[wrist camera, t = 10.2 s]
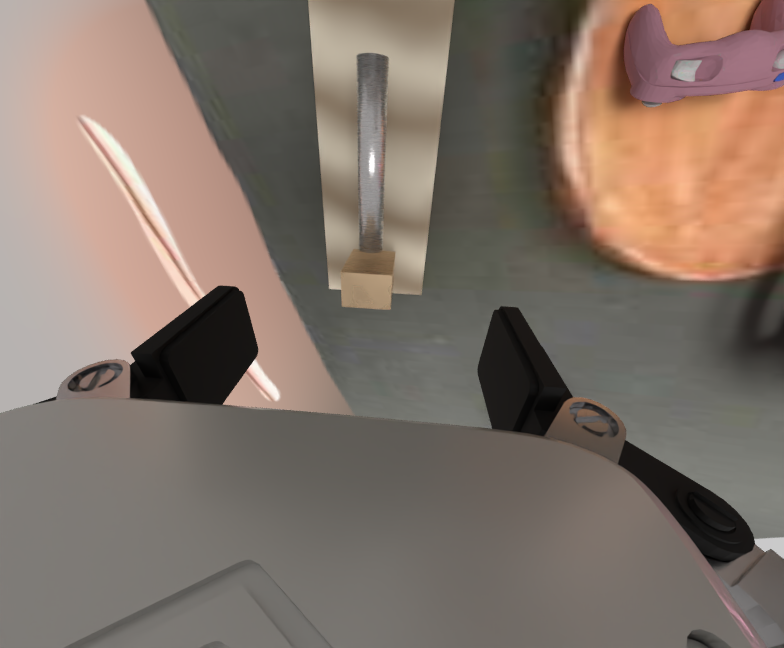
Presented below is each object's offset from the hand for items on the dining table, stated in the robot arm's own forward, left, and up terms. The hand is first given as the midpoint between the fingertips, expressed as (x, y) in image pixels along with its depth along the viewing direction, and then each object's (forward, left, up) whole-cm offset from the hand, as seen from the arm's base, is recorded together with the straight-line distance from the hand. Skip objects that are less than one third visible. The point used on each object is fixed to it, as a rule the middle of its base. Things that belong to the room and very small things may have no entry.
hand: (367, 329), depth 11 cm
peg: (-3, -2, -17) cm, 18 cm away
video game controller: (-13, +21, -21) cm, 32 cm away
